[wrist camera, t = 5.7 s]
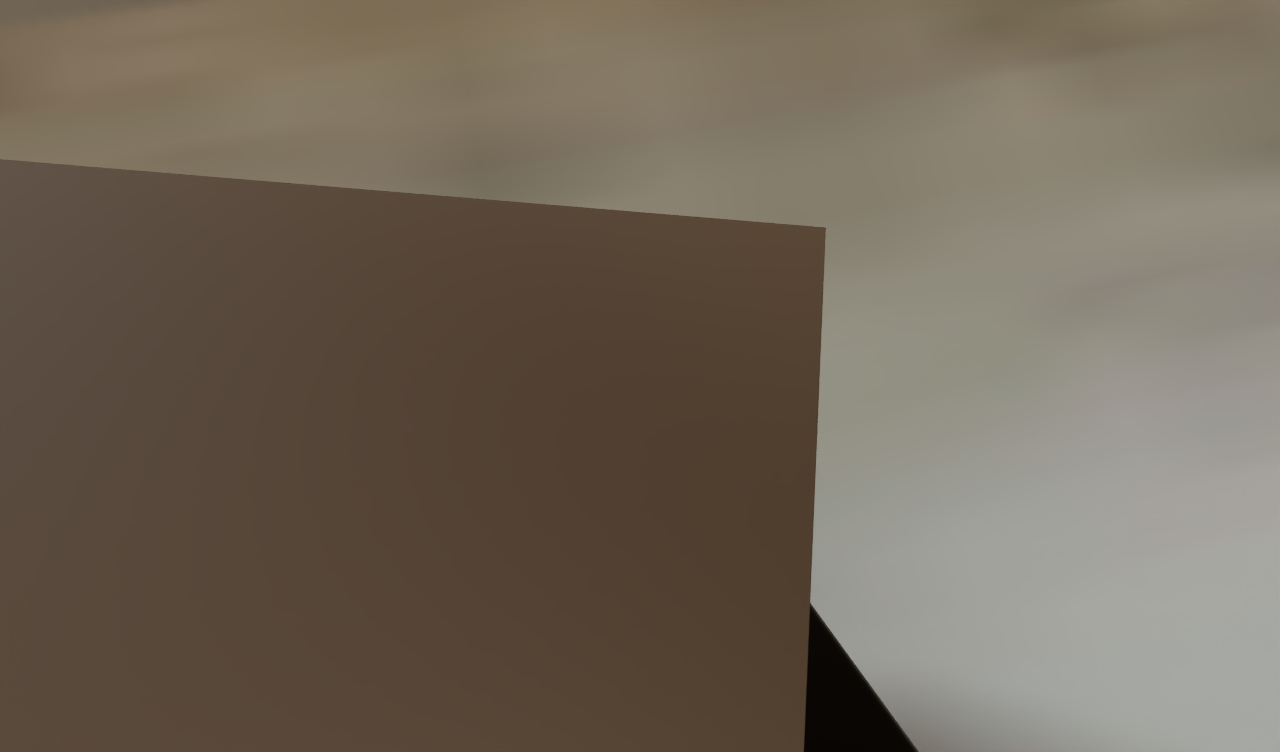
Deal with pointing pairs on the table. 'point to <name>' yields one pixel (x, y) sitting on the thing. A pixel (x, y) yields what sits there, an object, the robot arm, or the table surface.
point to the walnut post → (399, 471)
